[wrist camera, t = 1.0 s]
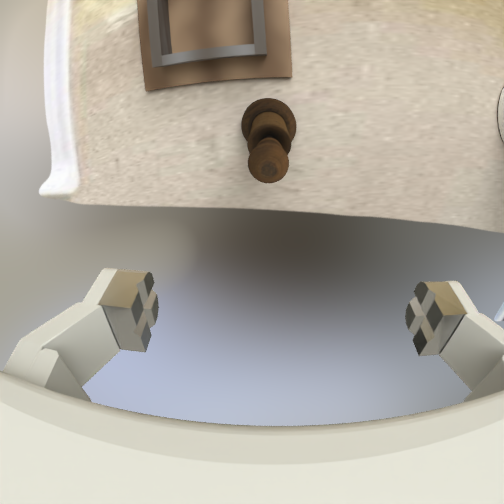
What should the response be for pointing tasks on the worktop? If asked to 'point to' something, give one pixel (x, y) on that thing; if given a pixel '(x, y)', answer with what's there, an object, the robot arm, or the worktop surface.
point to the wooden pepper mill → (268, 138)
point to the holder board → (213, 40)
